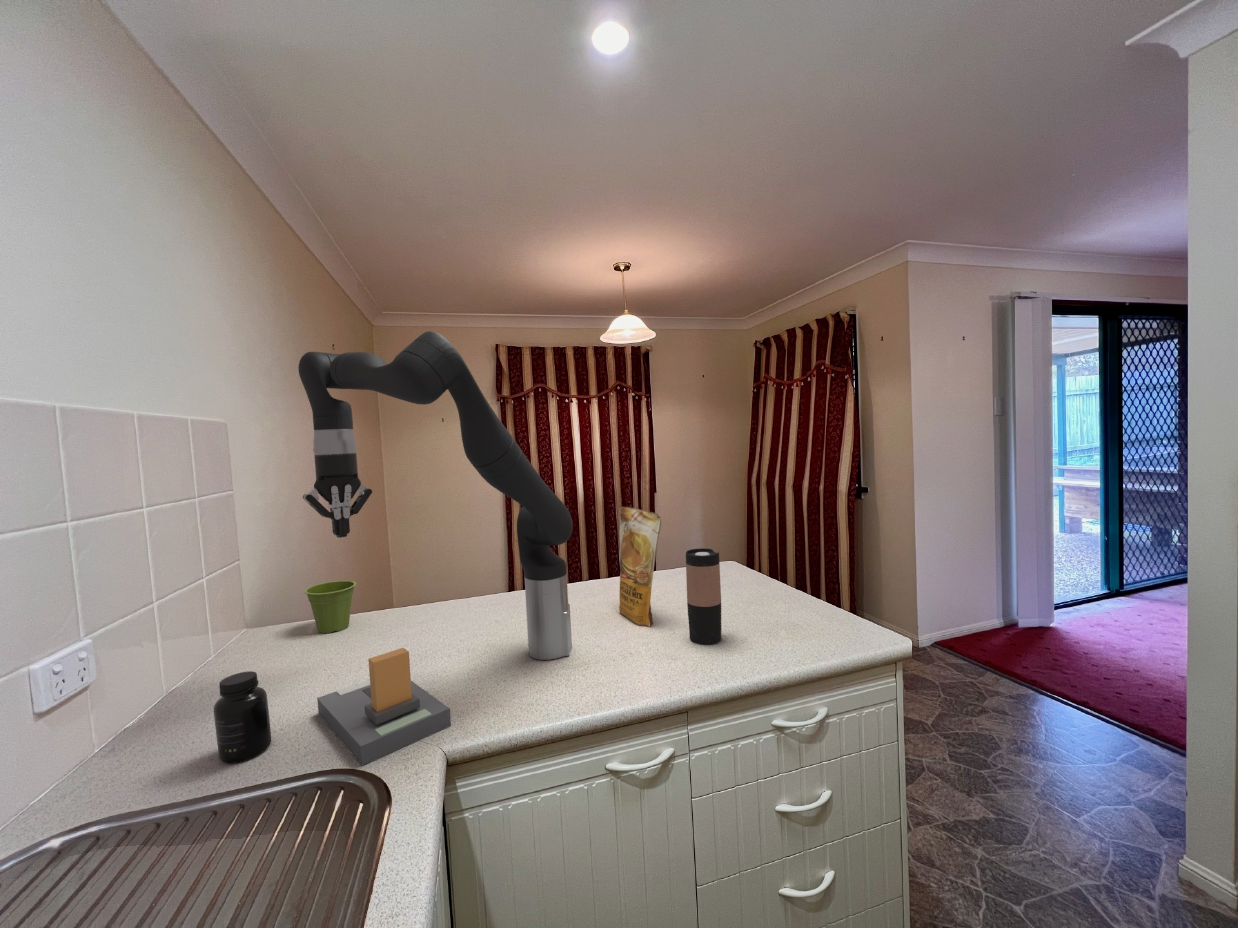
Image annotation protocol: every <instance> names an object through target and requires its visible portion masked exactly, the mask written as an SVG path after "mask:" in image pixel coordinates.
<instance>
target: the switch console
mask: <svg viewBox="0 0 1238 928" xmlns="http://www.w3.org/2000/svg"><path fill="white" fill-rule="evenodd" d="M411 690H412V694H413V695H415V696H416V697H417V698H419V699H420V708H417V709H415V710H412V711H410V712H407V713H405V714H402V715H400V716H398V717H395V718H393V719H390V720H388V721H385V722H383V723H381V724H378V725H376V724H375V723H374V722H373V721H372V720H371V719H370V718H369V717H368V716H367V715H365V705H368V704H371V703H372V702H371V689H370V678H369V679H367V680H364V681H360V682H359V683H355V684H352V685H350V686H347V687H344V688H341V689H338V690H336V691H333V692H330V693H328V694H325V695H322V696H318V697H317V699H316V700H317V712H318V716H319V717H320V718H321V719H322V720H323V721H324V723H325V724H326V725H327V726H328V727H329V729H330V730H331V731H332V732H333V733H334V734H335V735H336V737H337V738H338V739H339V741H340V742H341V743H342V744H343V745H344V746H345V748H347V750H348V751H349V752H350V753H351V754H352V755H353V757H354V758H355V759H356V761H358V763H359V764H360V765H361V766H362V767H363V766H365V765H367V764H370V763H372V762H374V761H376V760H378V759H381V758H383V757H386V756H387V755H388V756H389V754H392V753H394V752H396V751H398V750H400V749H403V748H405V747H407V746H410V745H412V744H414V743H416V742H418V741H421V740H422V739H425V738H427V737H429V736H431V735H434V734H436V733H438V732H440V731H442V730H444V729H446V728H449V727H451V726H452V722H451V708H450V707H448V706H447V705H446V704H444V703H443V702H442V701H440V700H439V699H437V698H436V697H435V696H433V695H432V694H431V693H429V692H428V691H426V690H425V689H424V688H422V687H421V686H419V685H418V684H417V683H415V682H414V681H413V680H411Z"/></svg>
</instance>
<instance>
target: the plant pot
mask: <svg viewBox="0 0 1238 928" xmlns="http://www.w3.org/2000/svg"><path fill="white" fill-rule="evenodd" d="M356 585H357V582H356V581H354V580H334V581H327V582H321V583H317V584H314V585H311V586H309V587H307V588H306V589H304V594H306V595H307V598H308V602H309V603H310V606H311V610H312V614H313V619H314V622H315V625H316V630H317V631H318V632H319V633H321V634H330V633H334V632H339V631H343V630H345V629H347V628H349V626H350V621H351V620H350V619H351V610H352V608H351V607H352V601H353V599H352V598H353V595H354V591H355V590H354V588H355V586H356Z"/></svg>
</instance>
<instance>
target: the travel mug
mask: <svg viewBox="0 0 1238 928" xmlns="http://www.w3.org/2000/svg"><path fill="white" fill-rule="evenodd" d="M720 566H721V565H720V551H717V552H716V551H714V549H712V548H706V547H705V548H692V549H687V551H686V552H685V569H686V570H685V573H686V574H685V575H686V576H685V577H686V602H687V603H686V605H687V617H688V618H687V619H688V634H689V639H690V641H691V642H692V643H694V644H697V645H703V646H707V645H708V646H710V645H715V644H718V643H720V642H721V641H722V592H721V591H722V590H721V589H722V588H721V586H722V585H721V569H720Z"/></svg>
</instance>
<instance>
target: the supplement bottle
mask: <svg viewBox="0 0 1238 928" xmlns="http://www.w3.org/2000/svg"><path fill="white" fill-rule="evenodd" d="M218 687H219V696H220V698H218V700H217V701H216V702H215V703H214V705H213V718H214V726H215V735H216V745H217V752H218V753H217V754H218V759H219V760H220V762H221V763H224V764H230V765H231V764H238V763H242V762H245V761H249V760H252V759H254V758H255V757H257V756H260V755H261V754H262V753H264V752H265V751H266V750H267V749H268V748H269V747H270V745H271V743H272V732H271V720H270V712H269V703H268V694H267V691H266V689H264V688H263V687H260V686H259V680H258V674H257V672H256V671H252V670H251V671H250V670H249V671H242V672H238V673H235V674H232V675H229V676H226V677H224V678H223V679H221V681H220V682H219V684H218Z"/></svg>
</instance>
